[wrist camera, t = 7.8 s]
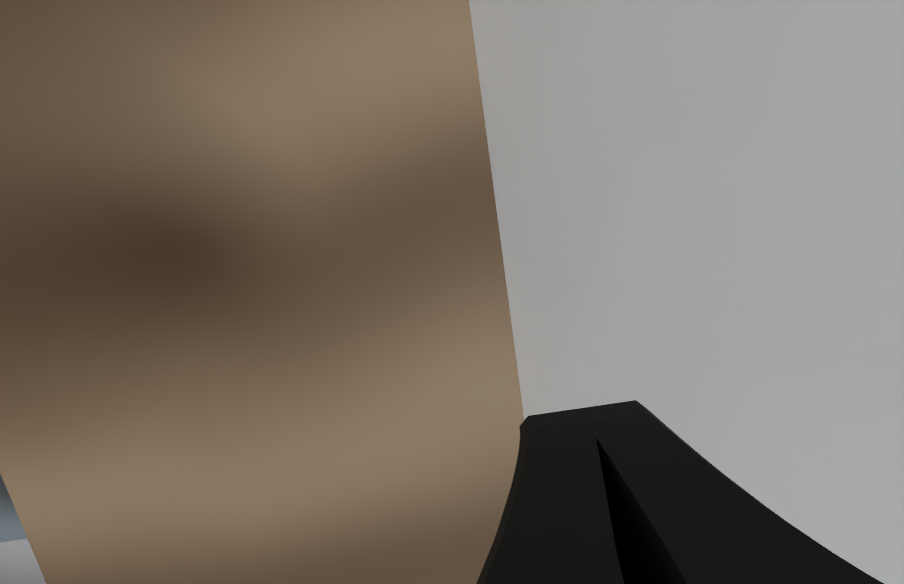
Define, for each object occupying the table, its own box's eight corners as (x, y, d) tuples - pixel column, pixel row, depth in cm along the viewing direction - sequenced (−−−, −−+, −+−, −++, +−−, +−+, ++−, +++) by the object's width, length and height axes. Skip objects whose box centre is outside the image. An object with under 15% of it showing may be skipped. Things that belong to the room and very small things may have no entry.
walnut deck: (525, 464, 20) (545, 576, 17) (136, 516, 21) (69, 637, 17) (440, -166, 15) (440, -210, 11) (-77, -81, 15) (-240, -95, 12)
